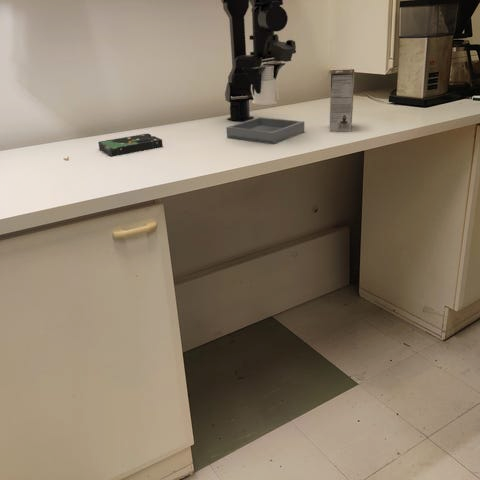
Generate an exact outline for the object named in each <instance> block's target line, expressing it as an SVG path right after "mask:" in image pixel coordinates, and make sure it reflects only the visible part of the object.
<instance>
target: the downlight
mask: <svg viewBox="0 0 480 480" xmlns="http://www.w3.org/2000/svg"><path fill="white" fill-rule="evenodd" d="M262 67H266V68H265V69H264V71H263V72H262V76H261V92H260V94H257V93H256V91H255V89H254V95H253V91H252V85H251V92H252V96H253V100H251V103H252V104H254V105H262V106H263V105H264V106H265V105H266V106H269V105H270V106H271V105H275V104H277V103H278V100H279V98H280V97H279V96H280V94H279V91H278V86H277V82H276V81H277V78H276V79H275V78H273V76H274V75H273V74H274V73H273V72H274V68H273V67H274V66H273V65H263V64H262ZM276 94H277V100H276Z"/></svg>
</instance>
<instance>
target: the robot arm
mask: <svg viewBox="0 0 480 480" xmlns="http://www.w3.org/2000/svg"><path fill="white" fill-rule="evenodd" d="M283 1H284V0H220V2H221V3H222V6H223V7H222V8H223V11H224V13H225V14H226V15H227V17H228V21H229V34H230V36H229V37H230V48H231V51H230V52H231V65H232V66H231V70H230V72H229V75H228V78H227V84H226V87H225V91H224V92H225V93H224V96H225V97H224V98H225V101H226V102H228V103H230V105H229V112H230V113H229V114H230V115H229V116H230V117H228V118H227V120H228V121H236V122H245V121H248V120H252V119H254V115H253V116H252V115H250V114H251V113H250V101H254V100H253V96H252V92H251V85H252V91H253V95H254V89H255V91H256V93H257V94H260V92H261V76H262V72H263V71H264V69H265V68H266V67H262V65H273V66H274V67H273V68H274V72H273V73H274V74H273V75H274V76H273V78H275V79H276V80H277V77H278V74H279V71H280V69H282V68H283V66H285V65H286V63H285V62H287V63H288V62H292V57H293V55H294V54H296V53H297V49H296V48H297V47H296V41H295V40H294V39H289V40H286V41H280V40H279V35H278V33H277V34H275V32H281V31H282V30H284V29H285V27H286V26H287V24H288V20H289V17H288V13H287V11H286V9H284V7H282V6H283V4H284V2H283ZM250 6H251V16H252V17H251V18H252V19H251V20H252V35H251V34H250V35H249V40H250V41H251V40H252V49H253V50H252V51H250V52H249V54H247V49H246V48H247V47H246V46H247V45H246V44H247V42H246V26H245V16H246V14H247V12H248V10H249V7H250Z"/></svg>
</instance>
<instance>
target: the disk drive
mask: <svg viewBox="0 0 480 480" xmlns="http://www.w3.org/2000/svg"><path fill="white" fill-rule="evenodd" d="M163 147H164V146H163V139H162V138H159V137H157V136H156V135H155V136H154V135H152V134H151V133H143V134H142V133H141V134H136V135H131V136H125V137H124V136H123V137H119V138H114V139H107V140H106V139H105V140H101V141H98V149H99V150H100V151H101V152H103V153H105V154H106V155H107V156H109V157H112V158H113V157H117V156H118V157H119V156H123V155H128V154H133V153H138V152H139V151H140V152H145V151H149V150H156V149H160V148H163ZM155 148H156V149H155ZM144 150H145V151H144ZM140 152H139V153H140Z"/></svg>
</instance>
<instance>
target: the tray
mask: <svg viewBox="0 0 480 480" xmlns="http://www.w3.org/2000/svg"><path fill="white" fill-rule="evenodd" d="M303 133H305V121H302V120H290V119H284V118H283V119H282V118H273V117H261V116H259V117H256V118H251V119H248V120H245V121H241V122H239V123H235V124H232V125H229V126H227V127H226V138H227V139H232V140H241V141H247V142H254V143H255V142H256V143H262V144H270V145H274V144H278V143H280V142H283V141H285V140H287V139H290V138H292V137H295V136H297V135H300V134H303Z"/></svg>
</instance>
